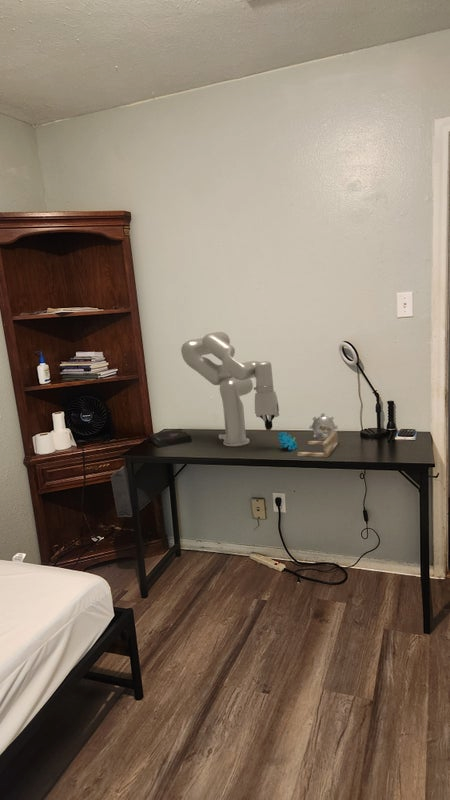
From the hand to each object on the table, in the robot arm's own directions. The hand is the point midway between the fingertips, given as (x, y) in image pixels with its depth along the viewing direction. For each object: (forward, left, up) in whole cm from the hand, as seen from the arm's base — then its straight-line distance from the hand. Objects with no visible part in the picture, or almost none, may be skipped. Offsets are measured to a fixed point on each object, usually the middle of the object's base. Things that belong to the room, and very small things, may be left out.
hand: (269, 429), depth 232 cm
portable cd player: (-55, +6, -10) cm, 57 cm away
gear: (+22, +13, -9) cm, 27 cm away
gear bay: (+22, 0, -9) cm, 23 cm away
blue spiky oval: (+8, 0, -9) cm, 12 cm away
